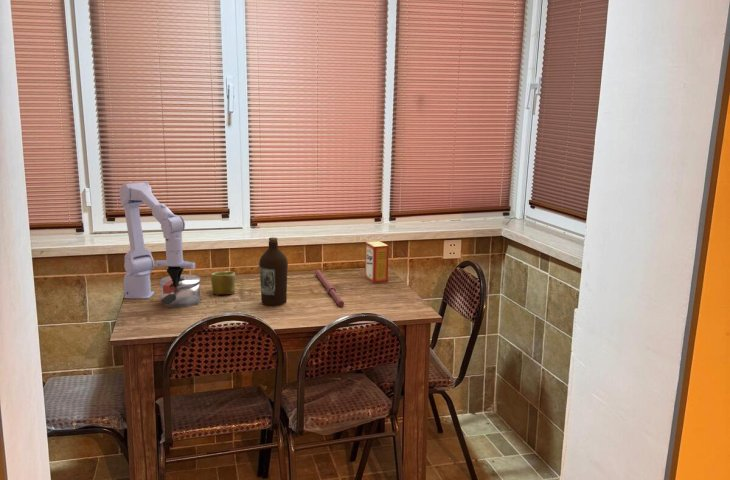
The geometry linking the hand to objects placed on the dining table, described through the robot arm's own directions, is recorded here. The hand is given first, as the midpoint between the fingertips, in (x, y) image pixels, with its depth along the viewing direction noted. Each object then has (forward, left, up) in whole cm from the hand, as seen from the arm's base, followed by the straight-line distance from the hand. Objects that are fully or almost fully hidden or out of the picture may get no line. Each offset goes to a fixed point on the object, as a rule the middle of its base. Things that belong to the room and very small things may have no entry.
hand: (176, 286), depth 233 cm
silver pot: (-2, +7, -9) cm, 11 cm away
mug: (+13, +23, -9) cm, 28 cm away
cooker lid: (-1, +7, -1) cm, 7 cm away
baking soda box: (+74, +43, -9) cm, 86 cm away
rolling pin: (+54, +27, -9) cm, 61 cm away
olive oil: (+34, +10, -9) cm, 36 cm away
